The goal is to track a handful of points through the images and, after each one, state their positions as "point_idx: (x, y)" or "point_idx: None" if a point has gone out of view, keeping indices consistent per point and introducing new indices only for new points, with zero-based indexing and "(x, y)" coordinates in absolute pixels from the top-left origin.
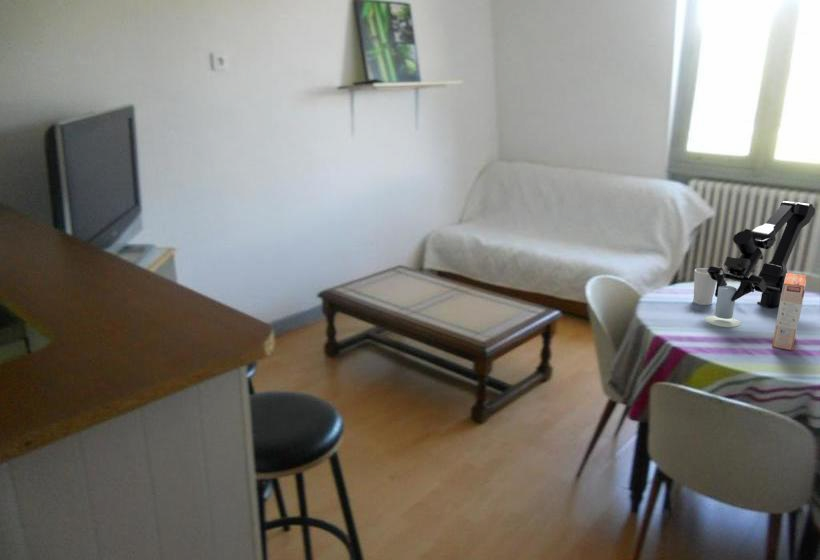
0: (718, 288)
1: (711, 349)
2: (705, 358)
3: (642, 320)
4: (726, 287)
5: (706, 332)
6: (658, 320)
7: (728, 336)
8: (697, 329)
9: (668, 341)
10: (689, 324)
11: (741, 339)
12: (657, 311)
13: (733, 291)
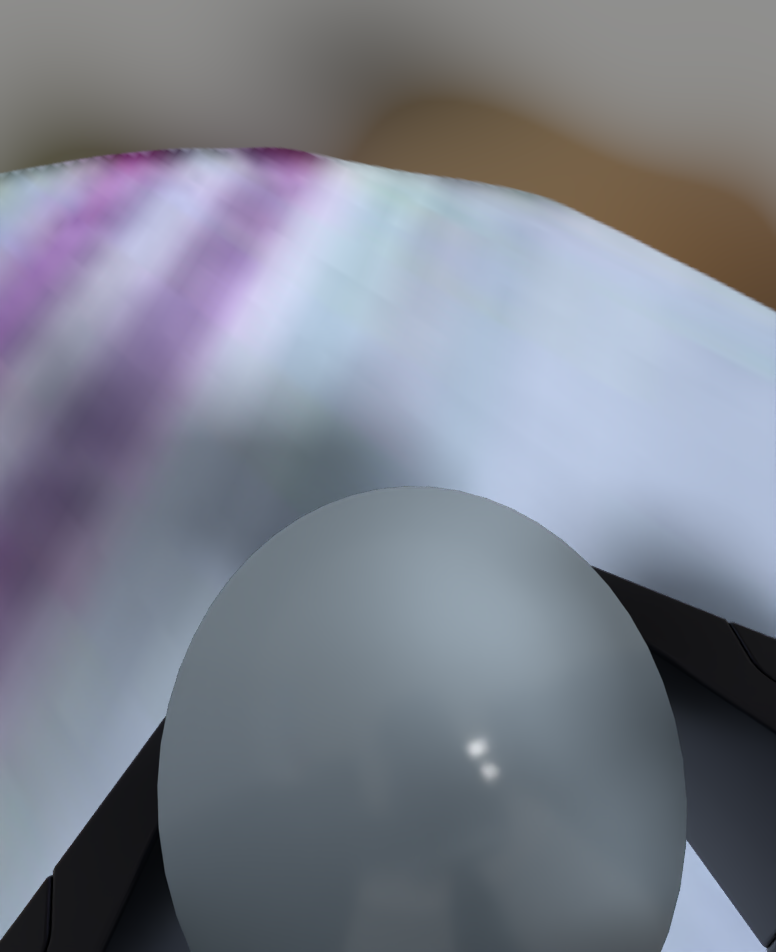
0: (531, 533)
1: (72, 257)
2: (21, 183)
3: (527, 201)
4: (481, 745)
5: (261, 377)
6: (512, 263)
7: (151, 453)
8: (321, 362)
9: (243, 163)
10: (409, 372)
11: (72, 494)
12: (669, 338)
13: (184, 725)
